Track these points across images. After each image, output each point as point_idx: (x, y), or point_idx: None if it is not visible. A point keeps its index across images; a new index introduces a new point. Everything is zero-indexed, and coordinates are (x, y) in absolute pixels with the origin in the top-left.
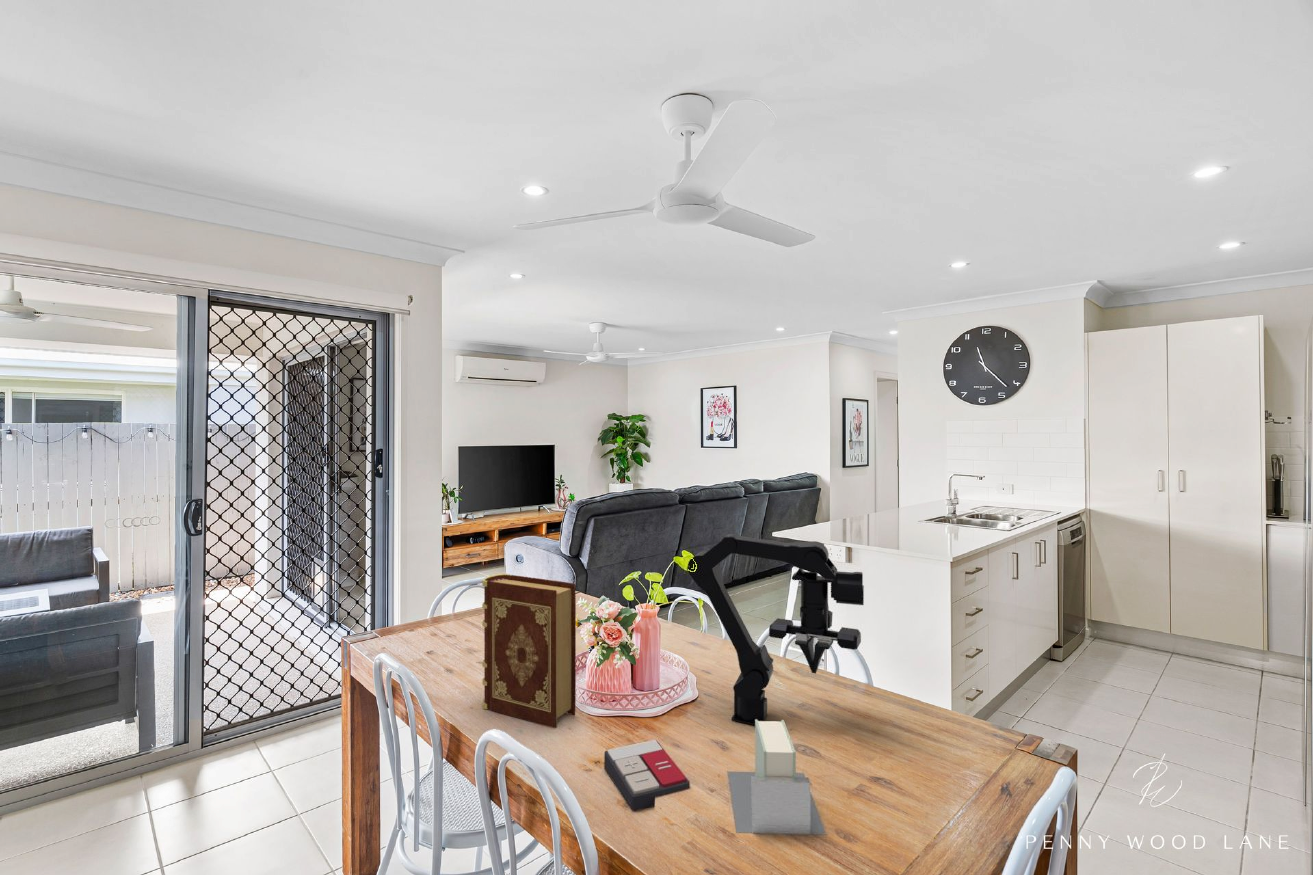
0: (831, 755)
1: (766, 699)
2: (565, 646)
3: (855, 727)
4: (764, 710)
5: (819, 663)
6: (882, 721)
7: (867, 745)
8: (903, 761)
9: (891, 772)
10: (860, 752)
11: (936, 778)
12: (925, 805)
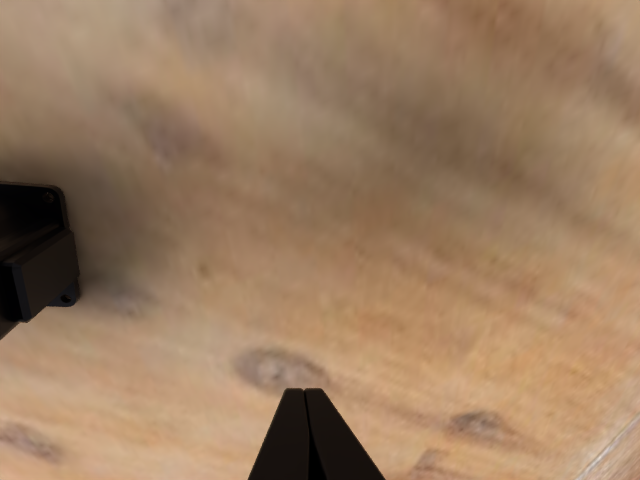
0: (359, 371)
1: (23, 276)
2: None
3: (442, 159)
4: (56, 288)
5: (366, 452)
6: (562, 54)
7: (468, 278)
8: (552, 325)
9: (506, 385)
10: (441, 326)
11: (606, 368)
12: (545, 461)
